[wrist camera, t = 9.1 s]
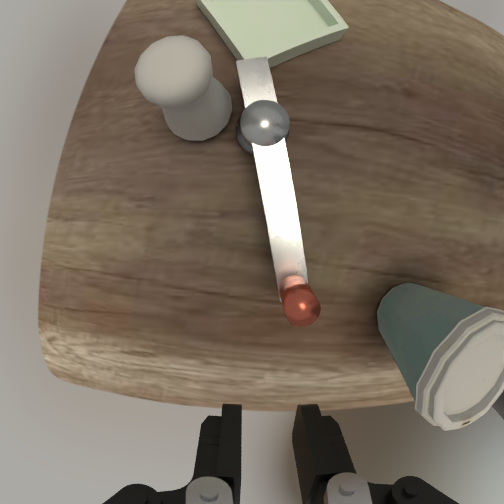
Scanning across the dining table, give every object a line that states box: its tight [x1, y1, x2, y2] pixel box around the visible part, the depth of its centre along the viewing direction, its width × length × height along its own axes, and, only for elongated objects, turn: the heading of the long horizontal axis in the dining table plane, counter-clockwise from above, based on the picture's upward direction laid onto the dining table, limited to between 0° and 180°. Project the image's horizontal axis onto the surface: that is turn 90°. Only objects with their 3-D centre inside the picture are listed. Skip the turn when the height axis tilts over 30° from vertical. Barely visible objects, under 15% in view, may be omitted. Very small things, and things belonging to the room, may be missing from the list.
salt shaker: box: [135, 35, 232, 141], centre depth 19 cm, size 6×6×13 cm
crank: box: [236, 56, 320, 327], centre depth 21 cm, size 20×4×7 cm, turn 10°
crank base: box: [236, 116, 289, 156], centre depth 25 cm, size 4×4×2 cm
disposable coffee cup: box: [377, 283, 504, 431], centre depth 23 cm, size 11×11×15 cm
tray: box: [196, 0, 349, 68], centre depth 22 cm, size 10×10×3 cm
